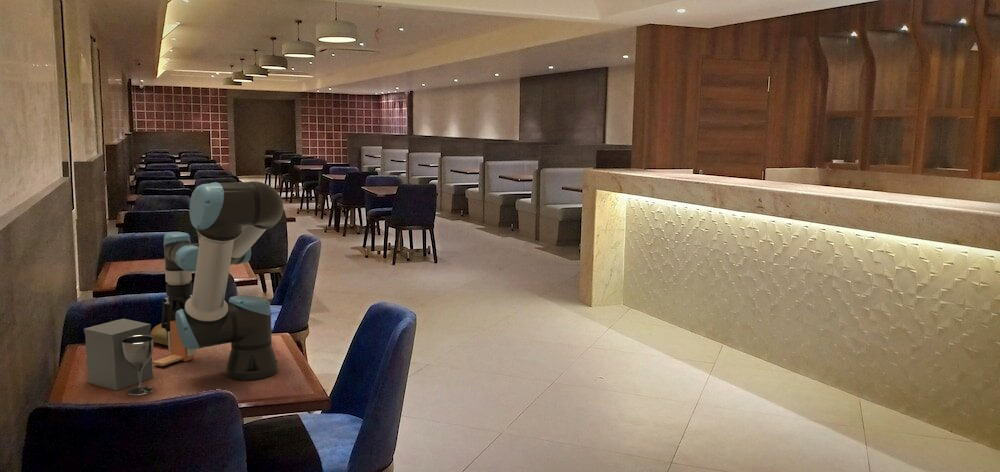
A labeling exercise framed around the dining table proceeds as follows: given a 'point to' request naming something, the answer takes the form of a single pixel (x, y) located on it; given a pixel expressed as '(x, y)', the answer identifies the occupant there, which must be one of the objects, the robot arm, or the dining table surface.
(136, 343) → the wine glass
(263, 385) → the dining table surface
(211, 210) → the robot arm
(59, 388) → the dining table surface
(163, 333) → the bread roll
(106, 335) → the gray box
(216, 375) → the dining table surface
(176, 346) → the l-shaped block
